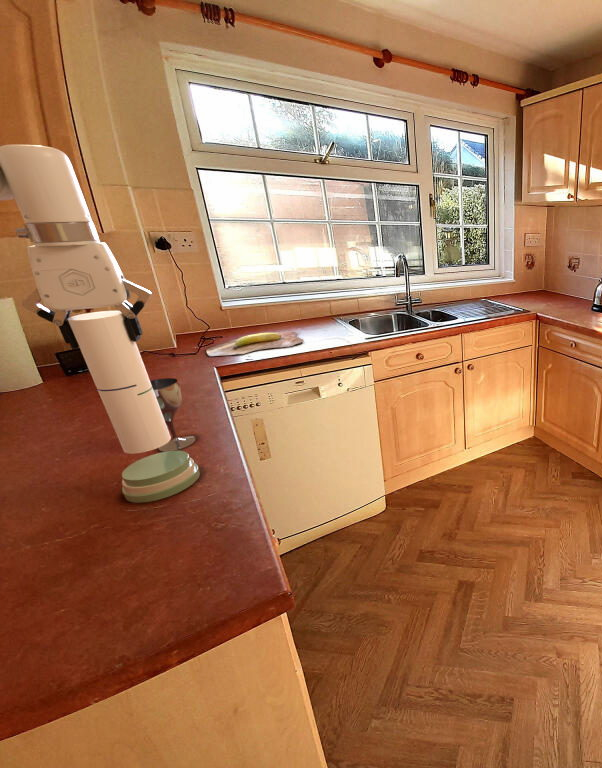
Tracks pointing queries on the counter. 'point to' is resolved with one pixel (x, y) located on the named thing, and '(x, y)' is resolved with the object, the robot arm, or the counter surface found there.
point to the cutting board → (255, 343)
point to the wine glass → (170, 410)
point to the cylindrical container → (121, 380)
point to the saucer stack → (159, 476)
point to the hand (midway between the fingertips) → (107, 342)
